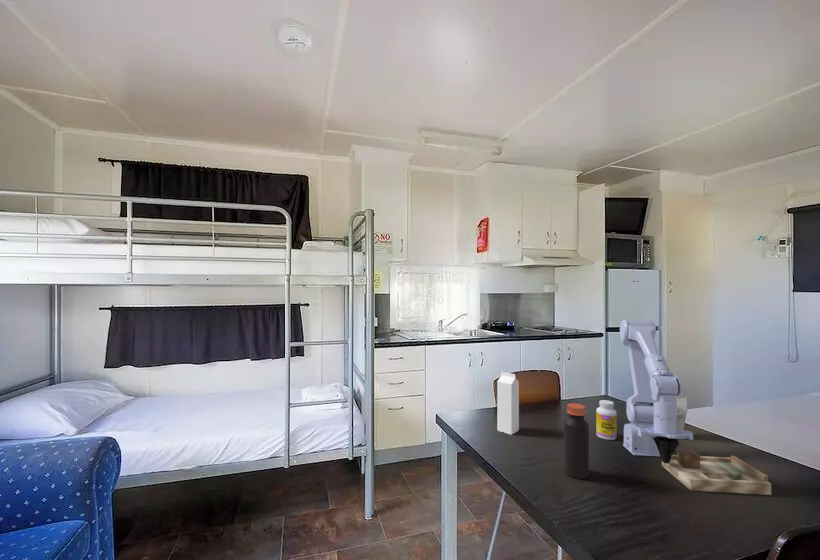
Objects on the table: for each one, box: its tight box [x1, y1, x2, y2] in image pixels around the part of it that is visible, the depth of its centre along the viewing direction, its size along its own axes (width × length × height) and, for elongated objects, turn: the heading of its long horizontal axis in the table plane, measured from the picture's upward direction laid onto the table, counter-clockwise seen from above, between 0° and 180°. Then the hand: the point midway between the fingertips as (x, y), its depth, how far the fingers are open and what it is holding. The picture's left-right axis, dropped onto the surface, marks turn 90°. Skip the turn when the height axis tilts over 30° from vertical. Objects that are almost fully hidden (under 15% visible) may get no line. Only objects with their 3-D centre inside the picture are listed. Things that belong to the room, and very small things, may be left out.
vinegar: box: [563, 402, 590, 480], centre depth 111 cm, size 7×7×20 cm
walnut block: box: [676, 448, 701, 469], centre depth 111 cm, size 4×4×4 cm
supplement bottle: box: [595, 399, 618, 441], centre depth 138 cm, size 7×7×13 cm
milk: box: [496, 371, 520, 436], centre depth 143 cm, size 6×6×22 cm
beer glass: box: [676, 393, 688, 440], centre depth 139 cm, size 7×7×15 cm
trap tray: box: [661, 454, 772, 496], centre depth 108 cm, size 20×14×4 cm
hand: (665, 461), depth 112 cm, fingers closed
